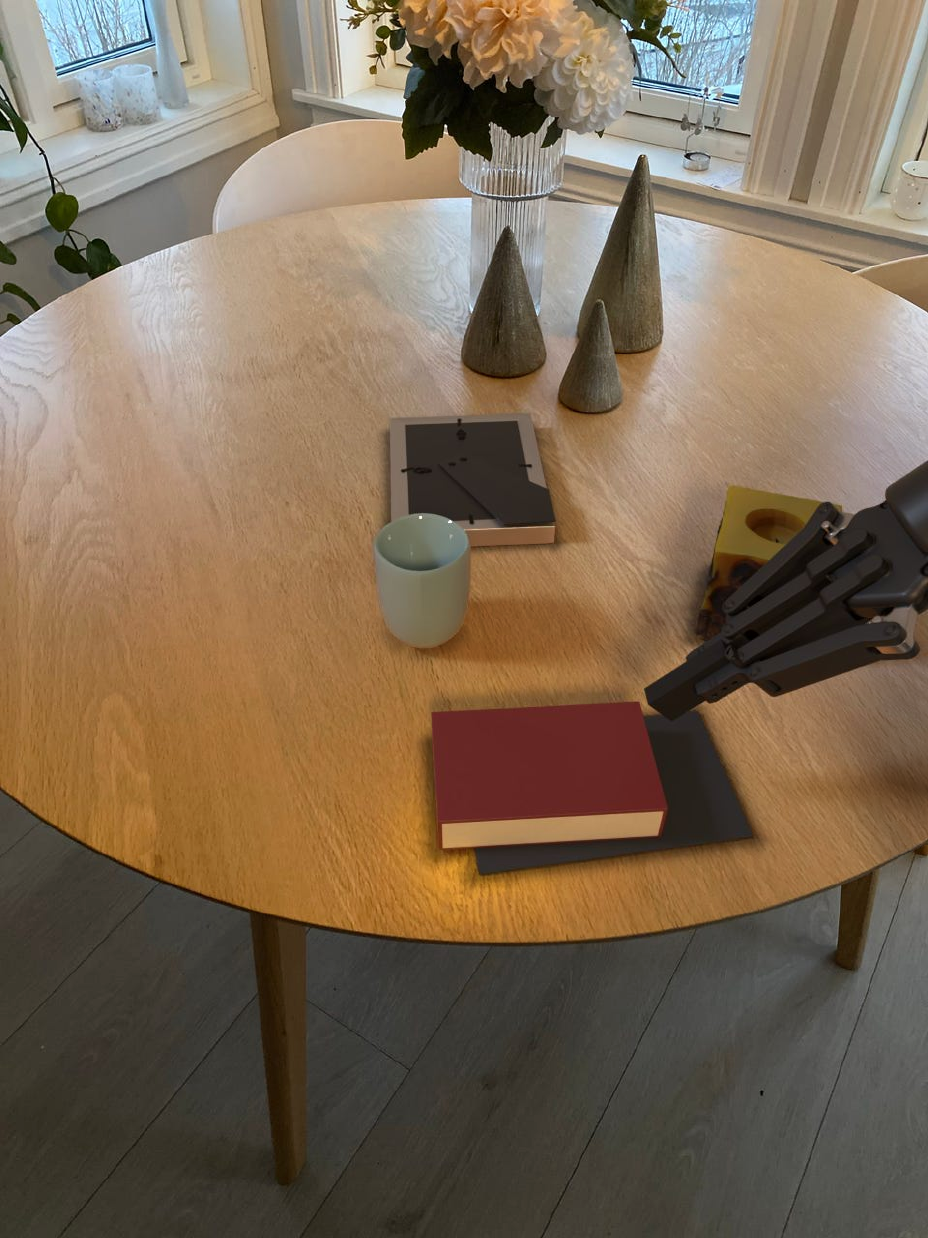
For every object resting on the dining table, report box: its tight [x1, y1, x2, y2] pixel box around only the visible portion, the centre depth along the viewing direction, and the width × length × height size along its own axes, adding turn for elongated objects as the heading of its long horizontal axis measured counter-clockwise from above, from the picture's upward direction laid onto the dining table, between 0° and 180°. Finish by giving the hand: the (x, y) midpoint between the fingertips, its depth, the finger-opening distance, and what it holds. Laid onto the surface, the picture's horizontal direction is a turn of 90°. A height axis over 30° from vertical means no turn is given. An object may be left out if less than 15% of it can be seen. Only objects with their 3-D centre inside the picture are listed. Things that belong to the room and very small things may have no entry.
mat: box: [473, 710, 754, 876], centre depth 72 cm, size 20×12×1 cm, turn 99°
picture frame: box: [389, 412, 557, 548], centre depth 100 cm, size 16×3×21 cm
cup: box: [372, 513, 472, 649], centre depth 81 cm, size 8×8×10 cm
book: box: [430, 700, 668, 851], centre depth 71 cm, size 10×4×16 cm
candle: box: [693, 484, 843, 641], centre depth 83 cm, size 10×10×10 cm
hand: (657, 705), depth 67 cm, fingers closed
